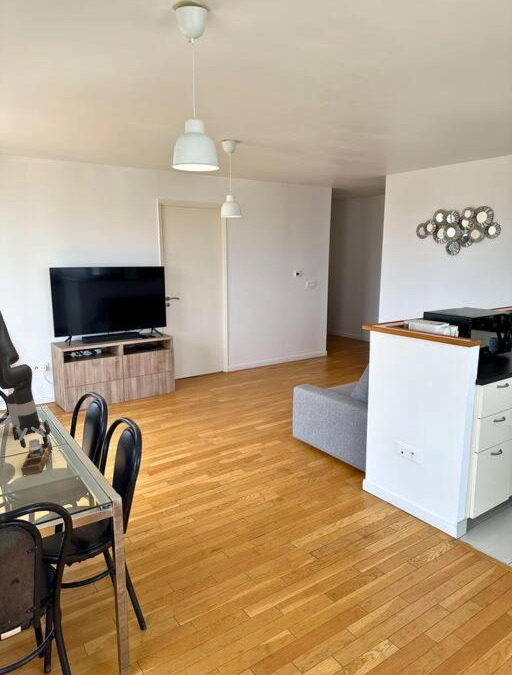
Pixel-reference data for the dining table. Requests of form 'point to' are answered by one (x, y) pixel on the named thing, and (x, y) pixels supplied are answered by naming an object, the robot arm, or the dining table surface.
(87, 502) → the dining table surface
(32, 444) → the pill bottle
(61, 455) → the dining table surface
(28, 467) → the rack
